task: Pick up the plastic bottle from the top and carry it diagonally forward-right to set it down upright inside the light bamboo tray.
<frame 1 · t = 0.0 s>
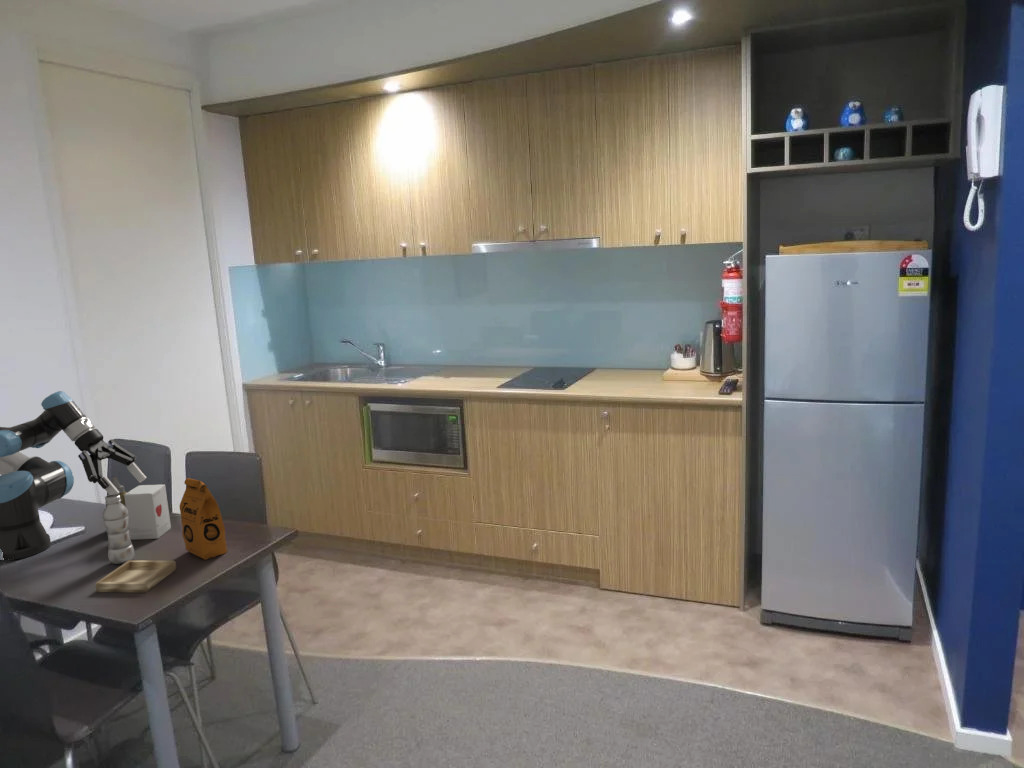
hand: (130, 487, 228), 15 cm above the table, tool tilted 35°, fingers open, 13 cm apart
coffee package: (207, 552, 214), on the table
bamboo tray: (137, 579, 197), on the table
plastic bottle: (122, 562, 210), on the table
squeeze bottle: (122, 530, 234), on the table
supplement box: (151, 534, 230), on the table
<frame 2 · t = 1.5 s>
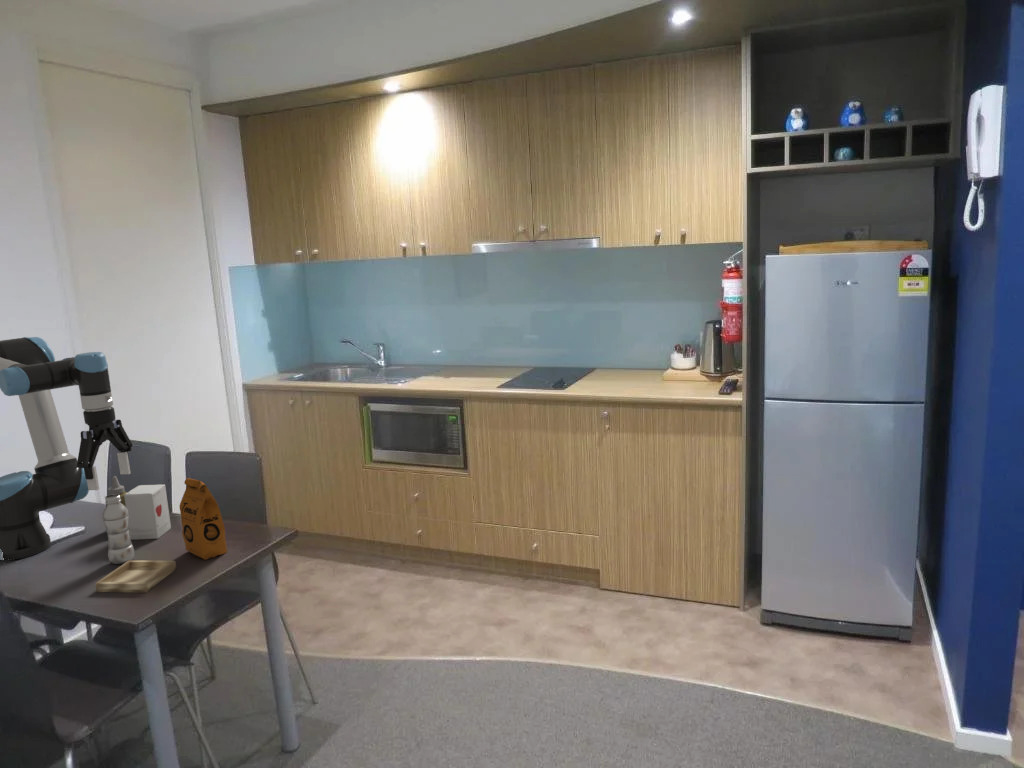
hand: (110, 481, 205), 24 cm above the table, tool pointing down, fingers open, 13 cm apart
nothing on the table moved.
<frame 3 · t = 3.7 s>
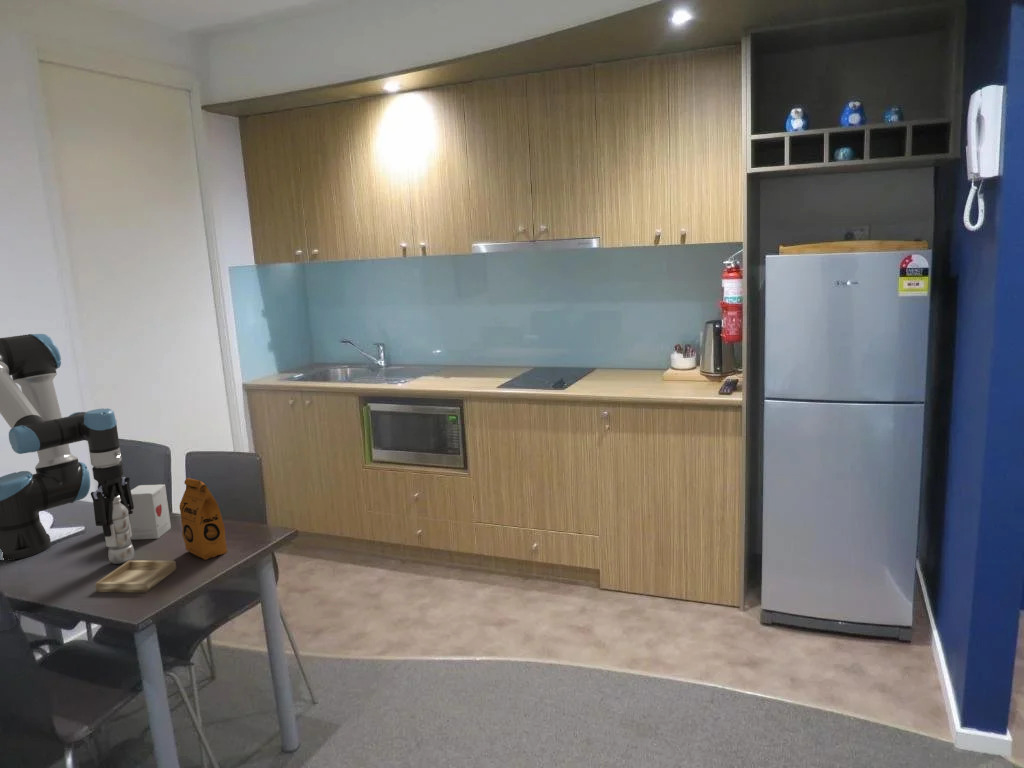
hand: (119, 540, 208), 6 cm above the table, tool pointing down, fingers closed on plastic bottle, 6 cm apart
plastic bottle: (122, 562, 210), on the table, touching gripper
everything else where it was.
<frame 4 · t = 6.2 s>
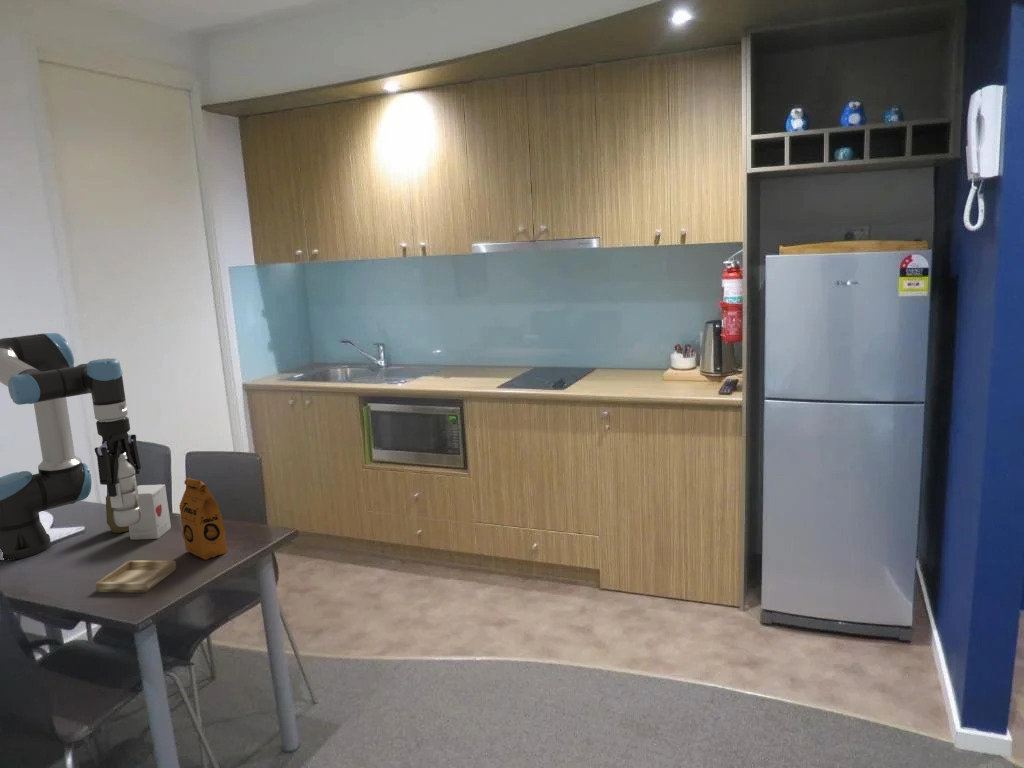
hand: (125, 502, 193), 22 cm above the table, tool pointing down, fingers closed on plastic bottle, 6 cm apart
plastic bottle: (129, 525, 195), point 16 cm above the table, touching gripper
everything else where it was.
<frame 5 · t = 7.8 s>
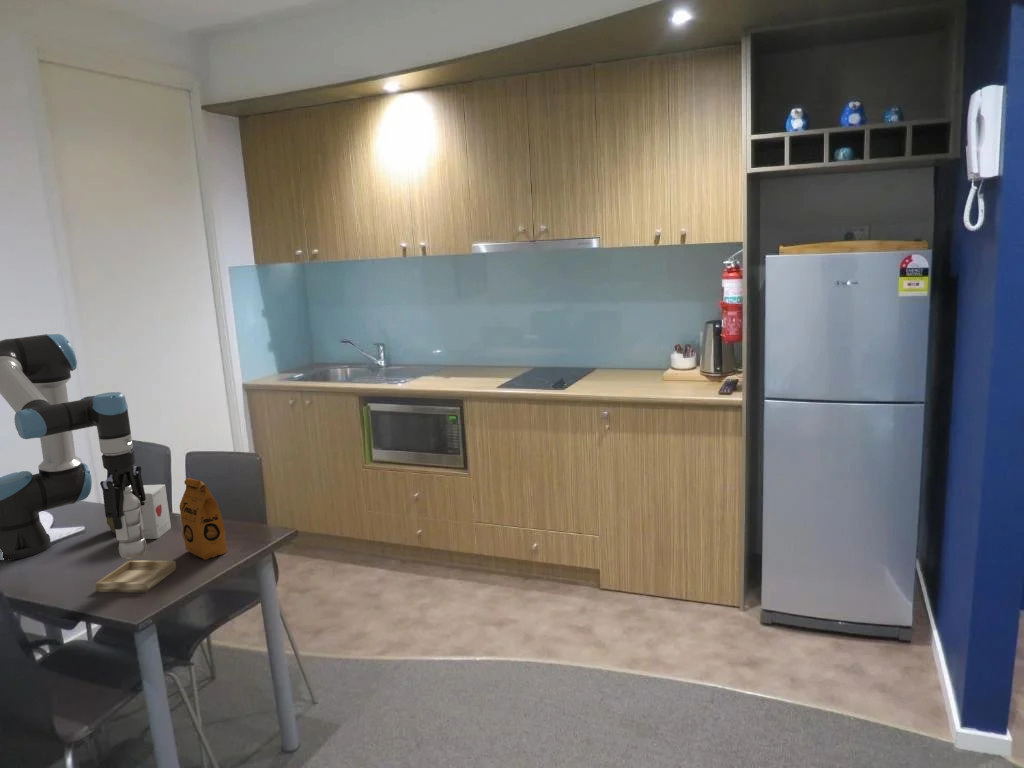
hand: (130, 534, 195), 13 cm above the table, tool pointing down, fingers closed on plastic bottle, 6 cm apart
plastic bottle: (134, 557, 196), point 7 cm above the table, touching gripper
everything else where it was.
when the fingers open (8 cm above the table, at t = 9.1 s): plastic bottle drops 1 cm, resting on bamboo tray.
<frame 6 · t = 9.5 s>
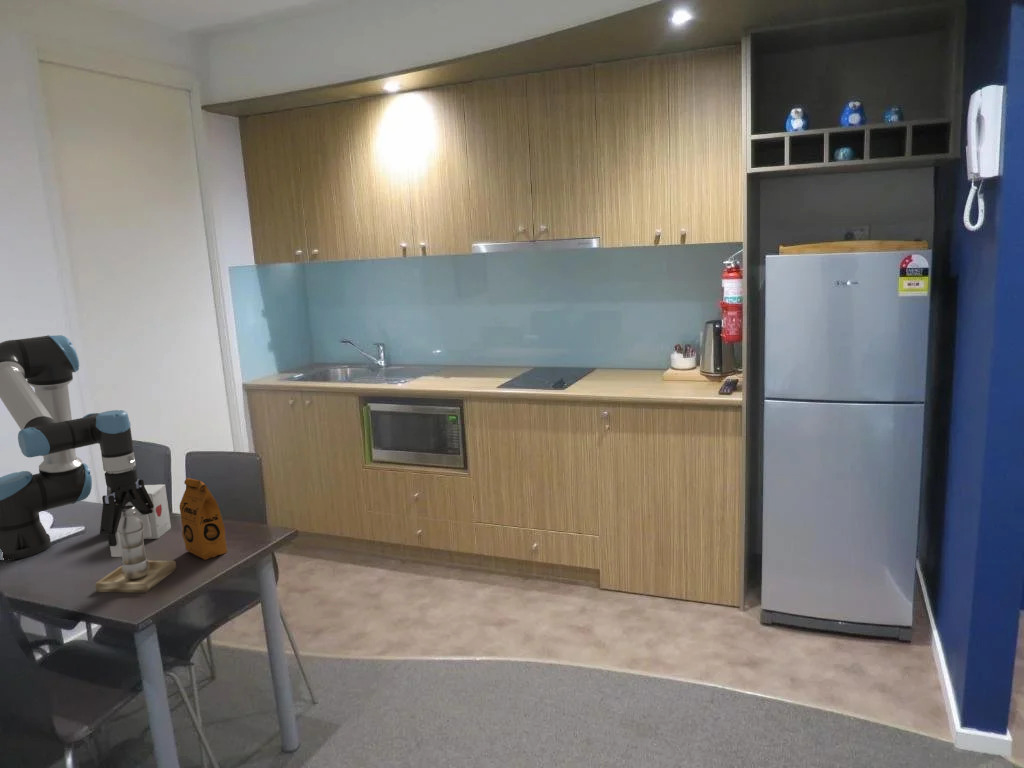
hand: (132, 546, 196), 10 cm above the table, tool pointing down, fingers open, 12 cm apart
plastic bottle: (137, 577, 197), point 1 cm above the table, touching bamboo tray
everything else where it was.
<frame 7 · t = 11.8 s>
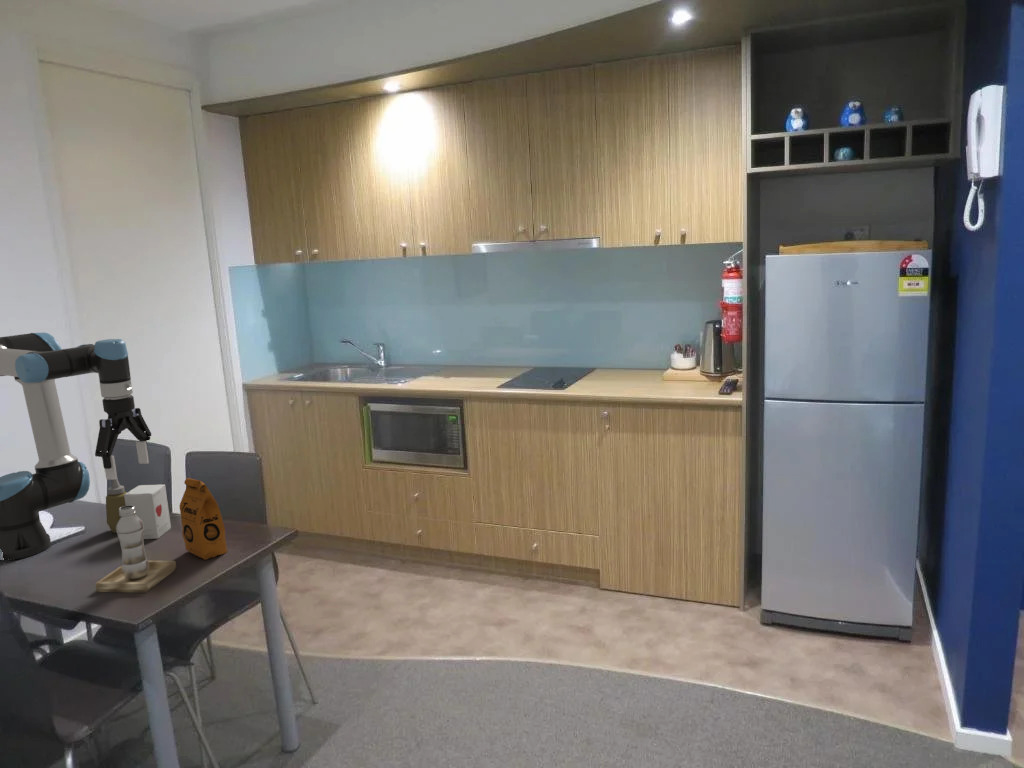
hand: (128, 471, 202), 28 cm above the table, tool pointing down, fingers open, 13 cm apart
nothing on the table moved.
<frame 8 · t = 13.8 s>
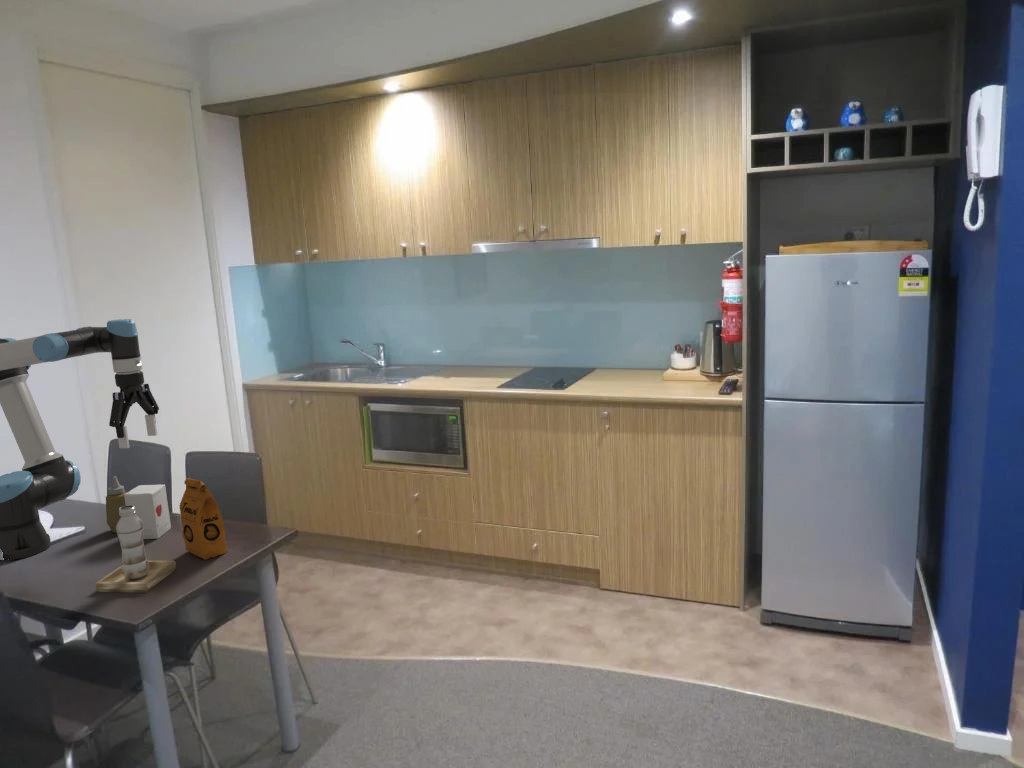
hand: (139, 441, 218), 32 cm above the table, tool pointing down, fingers open, 13 cm apart
nothing on the table moved.
at the end: plastic bottle inside the target area on the bamboo tray (0.0 cm from its centre), point 0.6 cm above the bamboo tray's base; plastic bottle tilted 0°; the gripper is holding nothing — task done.
